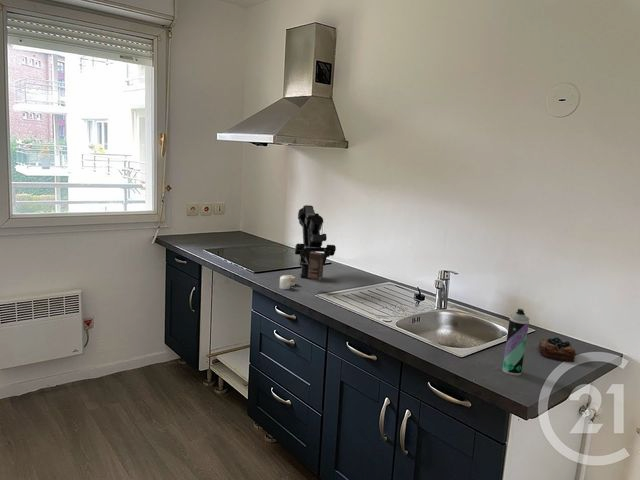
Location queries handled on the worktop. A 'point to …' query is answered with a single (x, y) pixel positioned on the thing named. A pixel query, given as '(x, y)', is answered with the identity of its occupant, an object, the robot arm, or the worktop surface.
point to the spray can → (516, 343)
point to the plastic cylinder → (285, 282)
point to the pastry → (557, 349)
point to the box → (315, 265)
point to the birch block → (291, 280)
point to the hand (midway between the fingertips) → (316, 265)
